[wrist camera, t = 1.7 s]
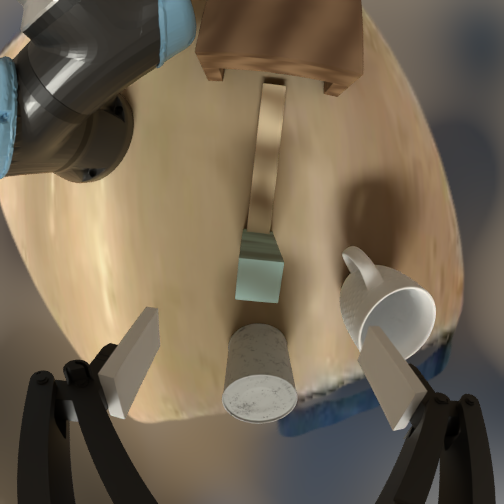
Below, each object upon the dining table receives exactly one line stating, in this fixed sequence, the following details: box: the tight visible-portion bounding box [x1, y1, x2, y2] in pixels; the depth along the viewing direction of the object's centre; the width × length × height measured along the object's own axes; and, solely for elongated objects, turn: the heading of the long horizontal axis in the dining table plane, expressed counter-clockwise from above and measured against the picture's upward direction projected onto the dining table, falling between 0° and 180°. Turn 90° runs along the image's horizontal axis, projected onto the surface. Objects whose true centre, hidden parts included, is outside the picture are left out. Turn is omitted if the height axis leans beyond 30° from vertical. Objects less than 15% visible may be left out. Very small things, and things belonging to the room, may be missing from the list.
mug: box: [340, 246, 436, 359], centre depth 34 cm, size 15×11×13 cm
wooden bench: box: [195, 0, 363, 97], centre depth 26 cm, size 18×14×10 cm
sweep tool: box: [235, 83, 286, 303], centre depth 29 cm, size 24×4×14 cm, turn 174°
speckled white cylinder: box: [222, 323, 297, 423], centre depth 37 cm, size 10×10×12 cm
